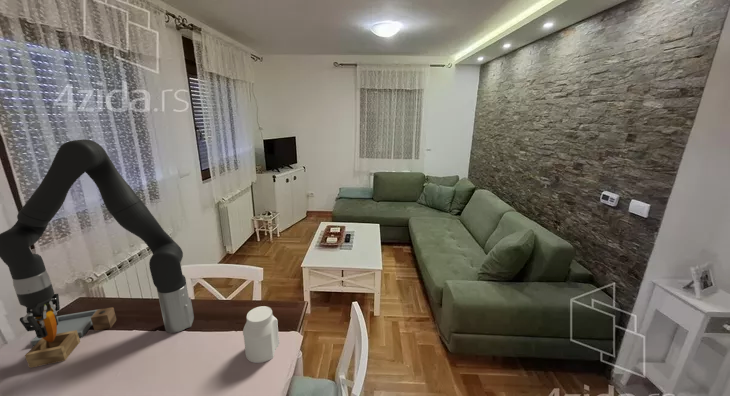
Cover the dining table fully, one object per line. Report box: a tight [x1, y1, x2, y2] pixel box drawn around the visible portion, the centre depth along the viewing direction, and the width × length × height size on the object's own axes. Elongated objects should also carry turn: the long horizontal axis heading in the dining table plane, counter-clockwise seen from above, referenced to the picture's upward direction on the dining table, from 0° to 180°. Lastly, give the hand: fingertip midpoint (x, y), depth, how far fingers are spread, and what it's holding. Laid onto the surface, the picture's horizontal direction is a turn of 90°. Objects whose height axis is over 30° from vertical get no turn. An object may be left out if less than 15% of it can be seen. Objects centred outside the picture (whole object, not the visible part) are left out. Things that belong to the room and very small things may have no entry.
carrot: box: [35, 305, 57, 342], centre depth 95 cm, size 5×5×15 cm
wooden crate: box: [24, 330, 81, 369], centre depth 97 cm, size 9×9×5 cm
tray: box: [30, 308, 100, 347], centre depth 109 cm, size 14×14×2 cm
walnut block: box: [91, 306, 117, 332], centre depth 111 cm, size 5×5×6 cm
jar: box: [242, 305, 280, 364], centre depth 99 cm, size 12×10×15 cm
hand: (48, 331), depth 95 cm, fingers closed on carrot, 4 cm apart
